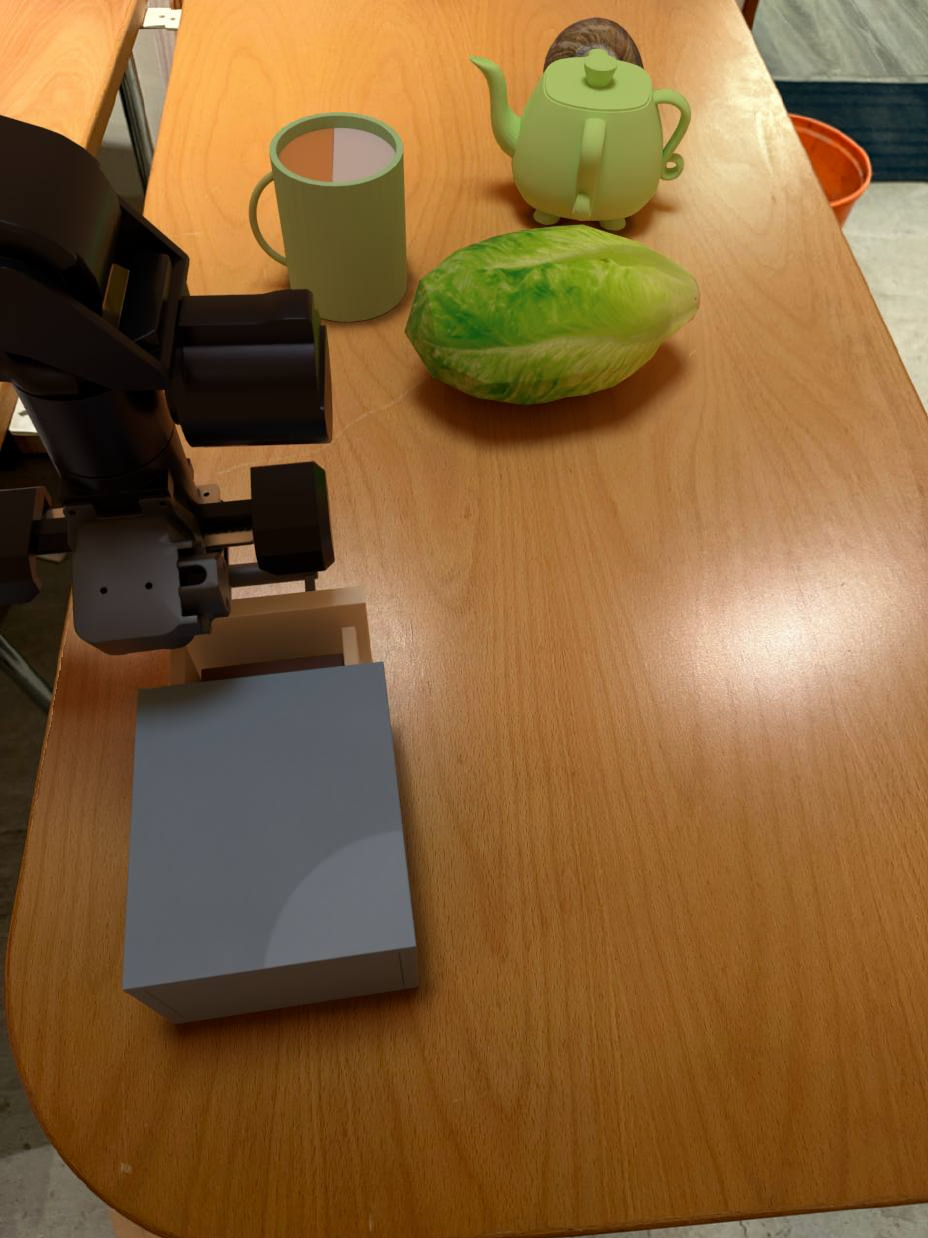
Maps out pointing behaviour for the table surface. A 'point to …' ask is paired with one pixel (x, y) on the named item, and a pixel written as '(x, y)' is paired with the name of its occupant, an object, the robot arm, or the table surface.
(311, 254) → the mug
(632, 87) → the teapot
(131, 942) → the cabinet
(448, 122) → the table surface
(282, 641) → the drawer
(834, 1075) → the table surface
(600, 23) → the seashell
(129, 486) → the robot arm
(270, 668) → the chocolate bar
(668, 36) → the table surface
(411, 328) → the lettuce
